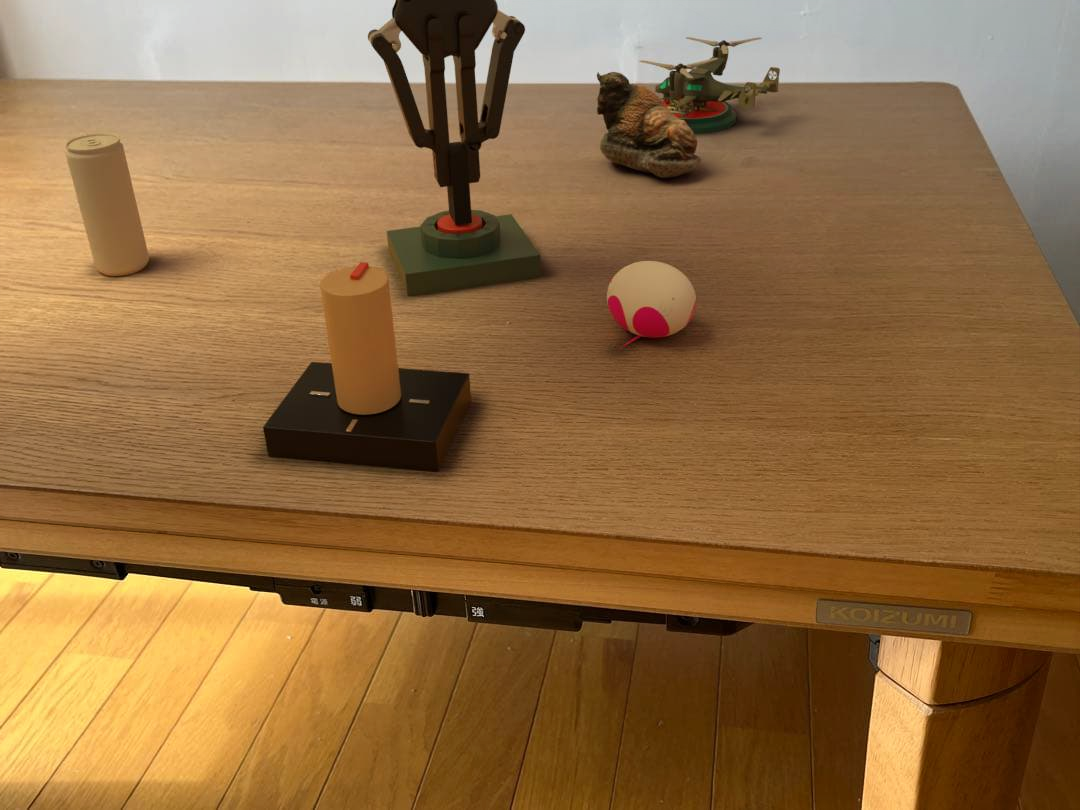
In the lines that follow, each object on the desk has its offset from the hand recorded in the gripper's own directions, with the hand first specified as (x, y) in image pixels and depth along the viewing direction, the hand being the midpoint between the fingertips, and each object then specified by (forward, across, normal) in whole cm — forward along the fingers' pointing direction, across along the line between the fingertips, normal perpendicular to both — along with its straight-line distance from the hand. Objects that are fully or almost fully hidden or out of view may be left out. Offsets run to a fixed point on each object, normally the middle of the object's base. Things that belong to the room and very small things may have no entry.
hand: (460, 217), depth 99 cm
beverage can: (+5, +30, -10) cm, 32 cm away
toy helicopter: (+5, -37, -30) cm, 48 cm away
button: (+2, 0, 0) cm, 2 cm away
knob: (+2, +12, +25) cm, 28 cm away
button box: (+5, 0, 0) cm, 5 cm away
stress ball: (+5, -11, +18) cm, 22 cm away
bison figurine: (+5, -24, -17) cm, 30 cm away
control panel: (+5, +12, +25) cm, 28 cm away
